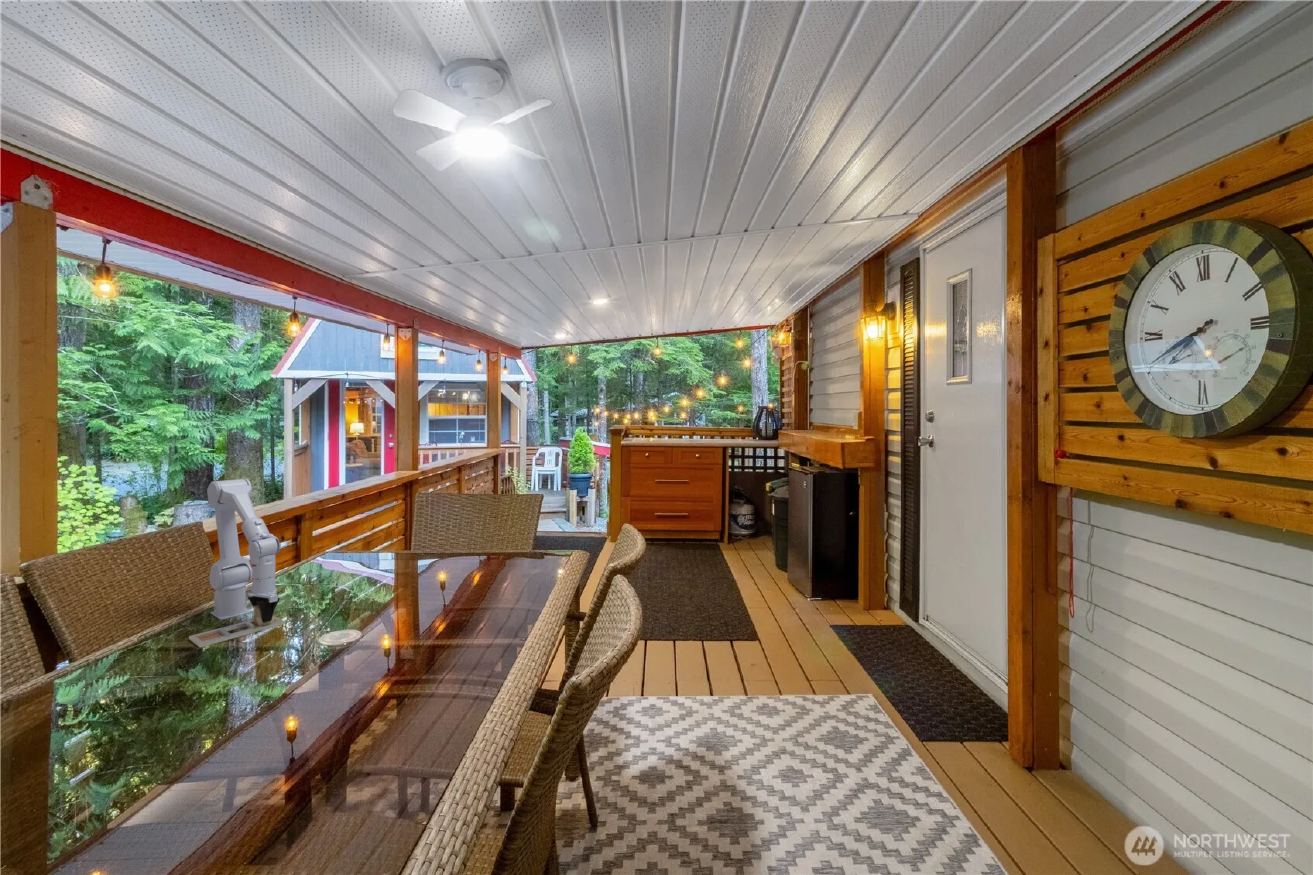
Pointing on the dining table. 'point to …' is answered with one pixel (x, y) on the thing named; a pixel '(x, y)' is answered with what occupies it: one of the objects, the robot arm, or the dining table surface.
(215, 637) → the white rectangular slotted frame
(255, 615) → the block
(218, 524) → the robot arm
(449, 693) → the dining table surface
